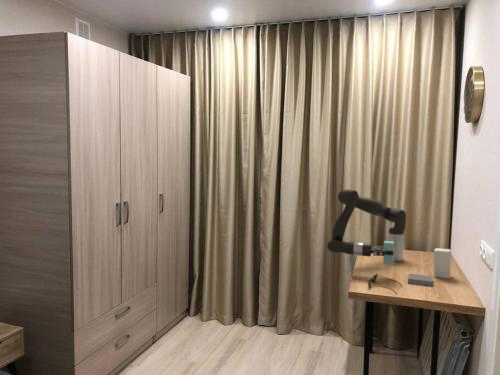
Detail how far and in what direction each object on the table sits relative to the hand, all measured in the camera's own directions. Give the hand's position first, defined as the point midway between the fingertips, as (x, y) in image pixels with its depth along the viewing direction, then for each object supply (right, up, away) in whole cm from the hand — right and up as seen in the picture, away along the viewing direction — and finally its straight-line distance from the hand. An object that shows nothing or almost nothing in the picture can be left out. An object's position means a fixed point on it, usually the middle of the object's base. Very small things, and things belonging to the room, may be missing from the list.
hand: (393, 252), depth 226 cm
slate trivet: (+13, -15, -5) cm, 21 cm away
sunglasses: (-9, -17, -14) cm, 24 cm away
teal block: (-2, -6, +2) cm, 7 cm away
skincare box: (+29, -15, +4) cm, 32 cm away
